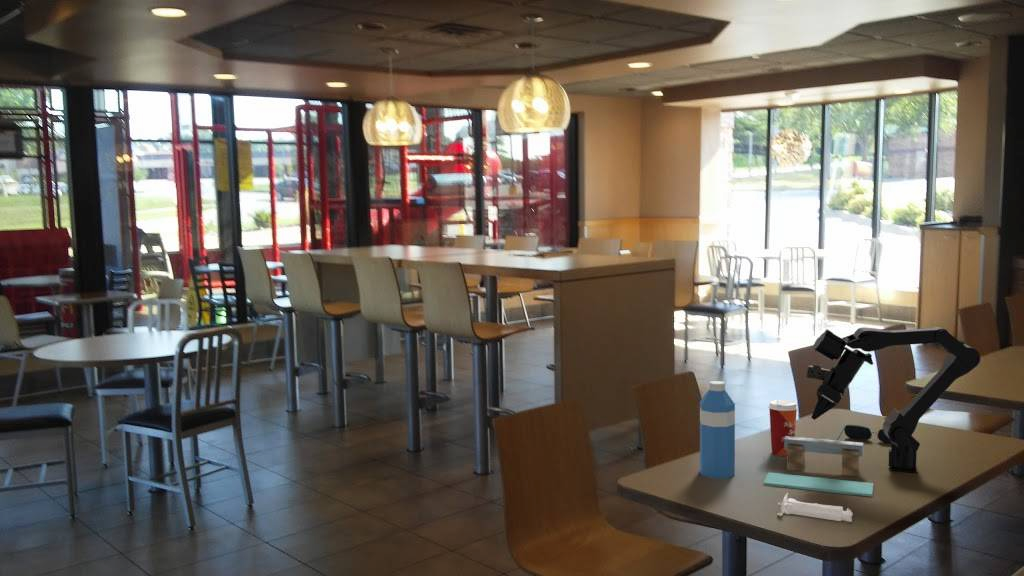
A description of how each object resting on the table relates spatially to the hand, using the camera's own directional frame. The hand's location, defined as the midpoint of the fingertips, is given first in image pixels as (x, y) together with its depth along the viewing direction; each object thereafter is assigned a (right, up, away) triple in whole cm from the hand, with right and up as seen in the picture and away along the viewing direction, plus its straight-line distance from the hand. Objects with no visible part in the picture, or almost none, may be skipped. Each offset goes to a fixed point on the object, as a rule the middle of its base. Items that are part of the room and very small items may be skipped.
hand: (814, 417), depth 238 cm
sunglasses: (+23, -12, +18) cm, 32 cm away
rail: (+2, -9, -2) cm, 9 cm away
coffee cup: (-4, -13, +14) cm, 20 cm away
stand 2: (+8, -14, -5) cm, 17 cm away
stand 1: (-5, -14, +1) cm, 15 cm away
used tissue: (-13, -18, -35) cm, 42 cm away
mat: (-4, -15, -14) cm, 22 cm away
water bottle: (-27, -15, -3) cm, 31 cm away
